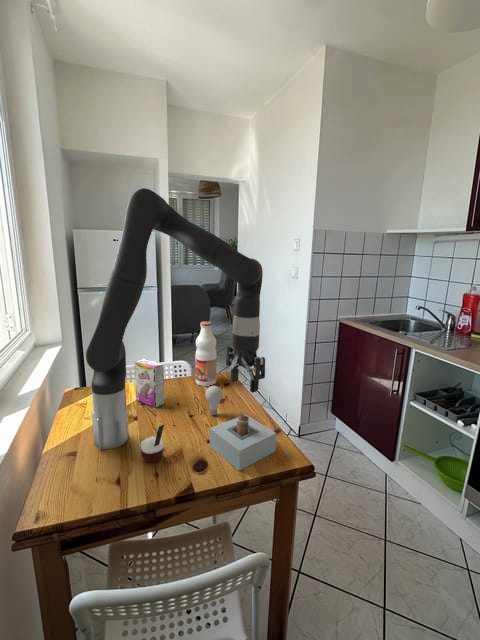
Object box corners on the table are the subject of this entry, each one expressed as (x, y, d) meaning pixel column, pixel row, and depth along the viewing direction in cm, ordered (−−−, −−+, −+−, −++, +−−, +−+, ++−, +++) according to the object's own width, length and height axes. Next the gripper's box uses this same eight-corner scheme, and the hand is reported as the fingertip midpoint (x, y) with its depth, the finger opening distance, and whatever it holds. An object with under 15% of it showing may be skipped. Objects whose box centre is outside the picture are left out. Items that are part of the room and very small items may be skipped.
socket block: (239, 470, 85) (239, 450, 84) (209, 446, 96) (209, 427, 94) (275, 451, 94) (276, 432, 93) (244, 430, 104) (245, 413, 103)
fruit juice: (217, 386, 139) (217, 324, 133) (195, 387, 137) (195, 324, 132) (215, 378, 148) (215, 320, 142) (195, 379, 147) (194, 320, 141)
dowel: (241, 453, 93) (242, 422, 91) (233, 447, 95) (234, 417, 93) (250, 449, 95) (251, 418, 93) (242, 443, 97) (243, 414, 95)
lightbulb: (225, 413, 116) (225, 385, 114) (217, 420, 111) (217, 391, 108) (210, 409, 118) (210, 381, 116) (202, 416, 113) (201, 388, 111)
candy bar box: (135, 401, 124) (133, 361, 120) (145, 396, 128) (143, 357, 125) (155, 408, 118) (154, 367, 115) (165, 403, 122) (164, 363, 119)
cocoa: (139, 454, 92) (136, 416, 90) (161, 448, 95) (158, 410, 93) (145, 472, 84) (141, 431, 81) (168, 465, 86) (165, 425, 84)
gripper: (219, 328, 90) (218, 381, 94) (253, 339, 80) (250, 398, 83) (240, 325, 95) (238, 376, 98) (274, 335, 84) (270, 391, 88)
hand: (243, 386), depth 91 cm, fingers open, 8 cm apart
